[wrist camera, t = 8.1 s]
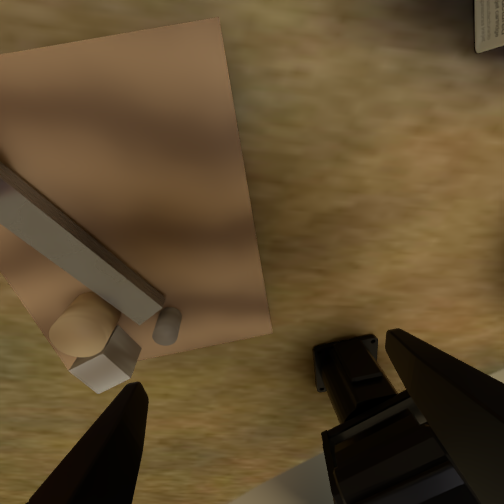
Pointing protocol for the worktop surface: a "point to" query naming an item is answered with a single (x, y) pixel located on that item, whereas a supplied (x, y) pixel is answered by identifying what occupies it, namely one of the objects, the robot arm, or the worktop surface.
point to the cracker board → (137, 186)
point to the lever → (74, 249)
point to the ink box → (489, 24)
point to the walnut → (84, 326)
